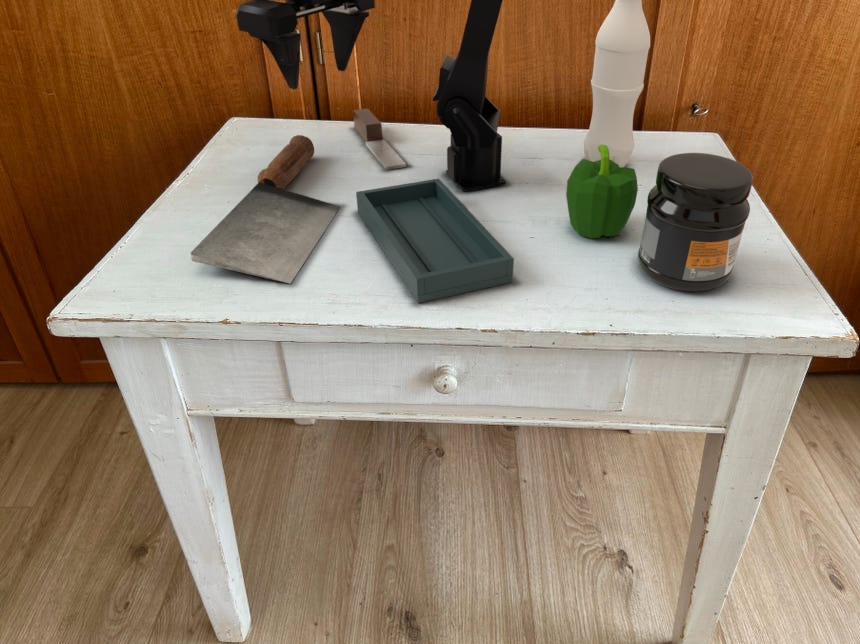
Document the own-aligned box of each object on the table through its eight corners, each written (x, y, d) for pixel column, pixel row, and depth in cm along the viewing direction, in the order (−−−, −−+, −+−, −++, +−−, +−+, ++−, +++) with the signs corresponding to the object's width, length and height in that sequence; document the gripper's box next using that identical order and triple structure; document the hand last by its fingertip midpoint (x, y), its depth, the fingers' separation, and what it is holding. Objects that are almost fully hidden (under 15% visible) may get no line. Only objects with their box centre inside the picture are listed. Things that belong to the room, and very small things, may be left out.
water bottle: (638, 161, 104) (670, -29, 89) (618, 178, 99) (648, -21, 84) (594, 150, 107) (617, -36, 92) (573, 166, 102) (594, -28, 87)
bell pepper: (624, 251, 83) (637, 171, 77) (556, 239, 85) (564, 160, 79) (635, 220, 89) (648, 143, 83) (571, 210, 91) (580, 134, 85)
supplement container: (747, 292, 77) (778, 188, 69) (655, 299, 75) (677, 195, 68) (706, 244, 85) (730, 147, 77) (622, 250, 83) (639, 152, 76)
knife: (370, 126, 113) (369, 108, 111) (406, 167, 101) (405, 146, 99) (352, 129, 112) (351, 110, 110) (386, 170, 100) (384, 149, 98)
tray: (439, 199, 93) (438, 178, 91) (512, 282, 77) (513, 258, 75) (357, 213, 89) (355, 191, 87) (417, 303, 73) (416, 279, 72)
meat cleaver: (291, 283, 76) (286, 250, 73) (191, 274, 77) (182, 241, 74) (369, 163, 102) (367, 136, 100) (293, 157, 103) (289, 130, 101)
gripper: (304, -75, 91) (319, 53, 101) (188, -57, 78) (218, 87, 88) (372, -67, 87) (381, 65, 96) (261, -47, 74) (285, 103, 84)
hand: (318, 79), depth 91 cm, fingers open, 9 cm apart
